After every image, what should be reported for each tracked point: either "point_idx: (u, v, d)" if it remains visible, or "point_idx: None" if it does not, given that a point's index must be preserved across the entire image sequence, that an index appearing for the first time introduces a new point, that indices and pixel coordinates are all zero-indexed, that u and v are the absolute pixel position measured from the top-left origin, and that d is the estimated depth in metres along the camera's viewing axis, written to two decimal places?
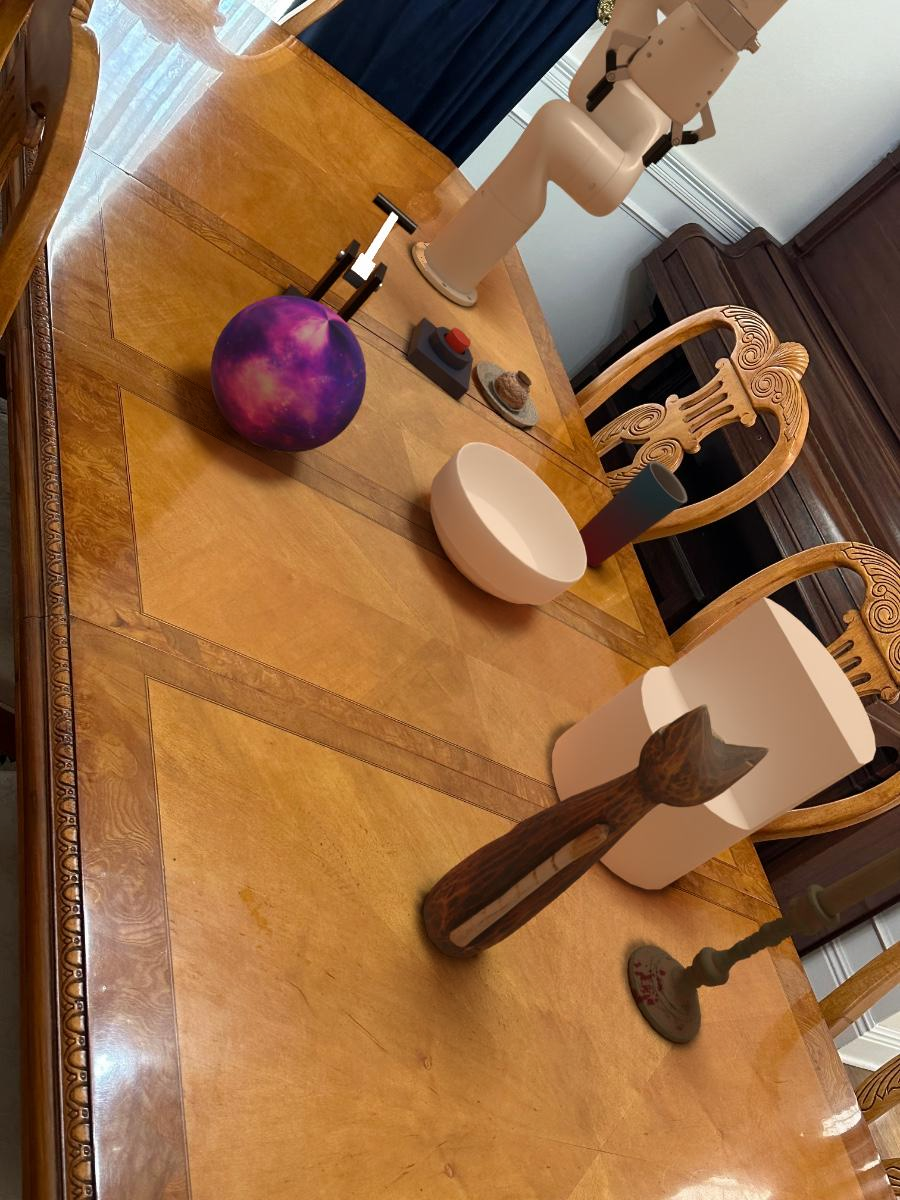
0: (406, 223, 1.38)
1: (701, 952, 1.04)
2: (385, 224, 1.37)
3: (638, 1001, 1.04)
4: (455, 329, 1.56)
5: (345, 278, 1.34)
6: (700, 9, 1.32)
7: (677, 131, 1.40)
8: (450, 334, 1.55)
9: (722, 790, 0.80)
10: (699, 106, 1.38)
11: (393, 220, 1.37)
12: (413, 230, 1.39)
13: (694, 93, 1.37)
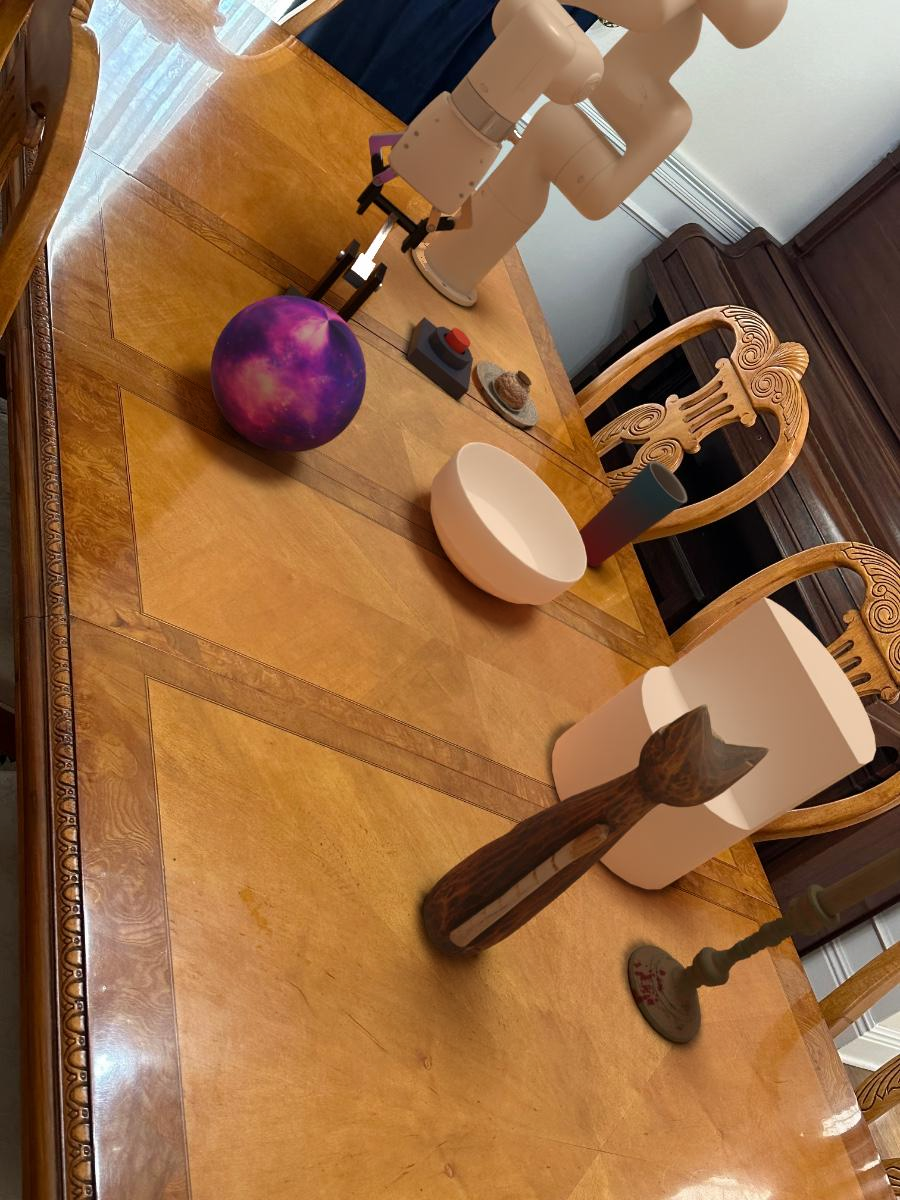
0: (406, 223, 1.38)
1: (701, 952, 1.04)
2: (385, 224, 1.37)
3: (638, 1001, 1.04)
4: (455, 329, 1.56)
5: (345, 278, 1.34)
6: (453, 101, 1.28)
7: (431, 218, 1.37)
8: (450, 334, 1.55)
9: (722, 790, 0.80)
10: (463, 197, 1.34)
11: (393, 220, 1.37)
12: (413, 230, 1.39)
13: (456, 184, 1.33)
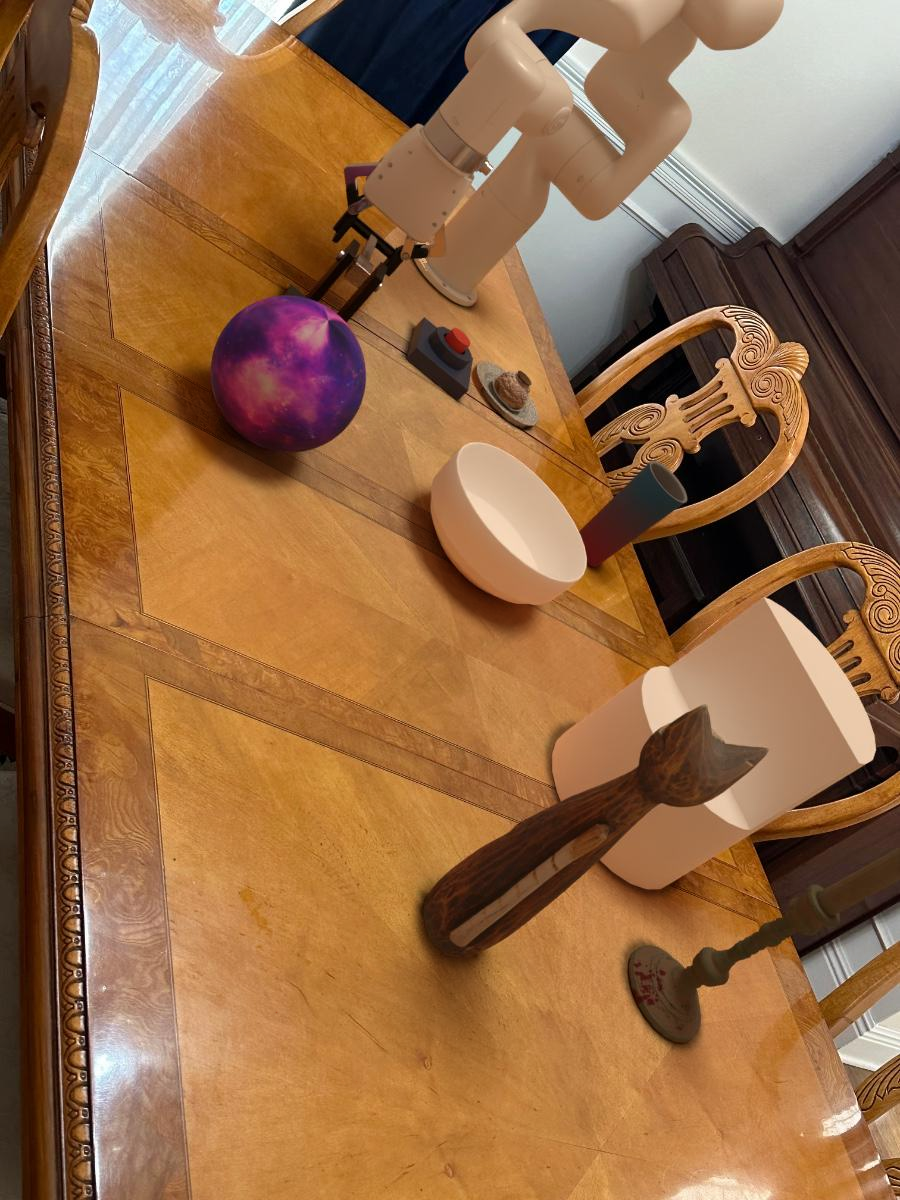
0: (385, 244, 1.41)
1: (701, 952, 1.04)
2: (369, 241, 1.39)
3: (638, 1001, 1.04)
4: (455, 329, 1.56)
5: (347, 277, 1.33)
6: (425, 134, 1.32)
7: (405, 246, 1.40)
8: (450, 334, 1.55)
9: (722, 790, 0.80)
10: (436, 226, 1.38)
11: (374, 240, 1.40)
12: (392, 251, 1.42)
13: (429, 214, 1.37)
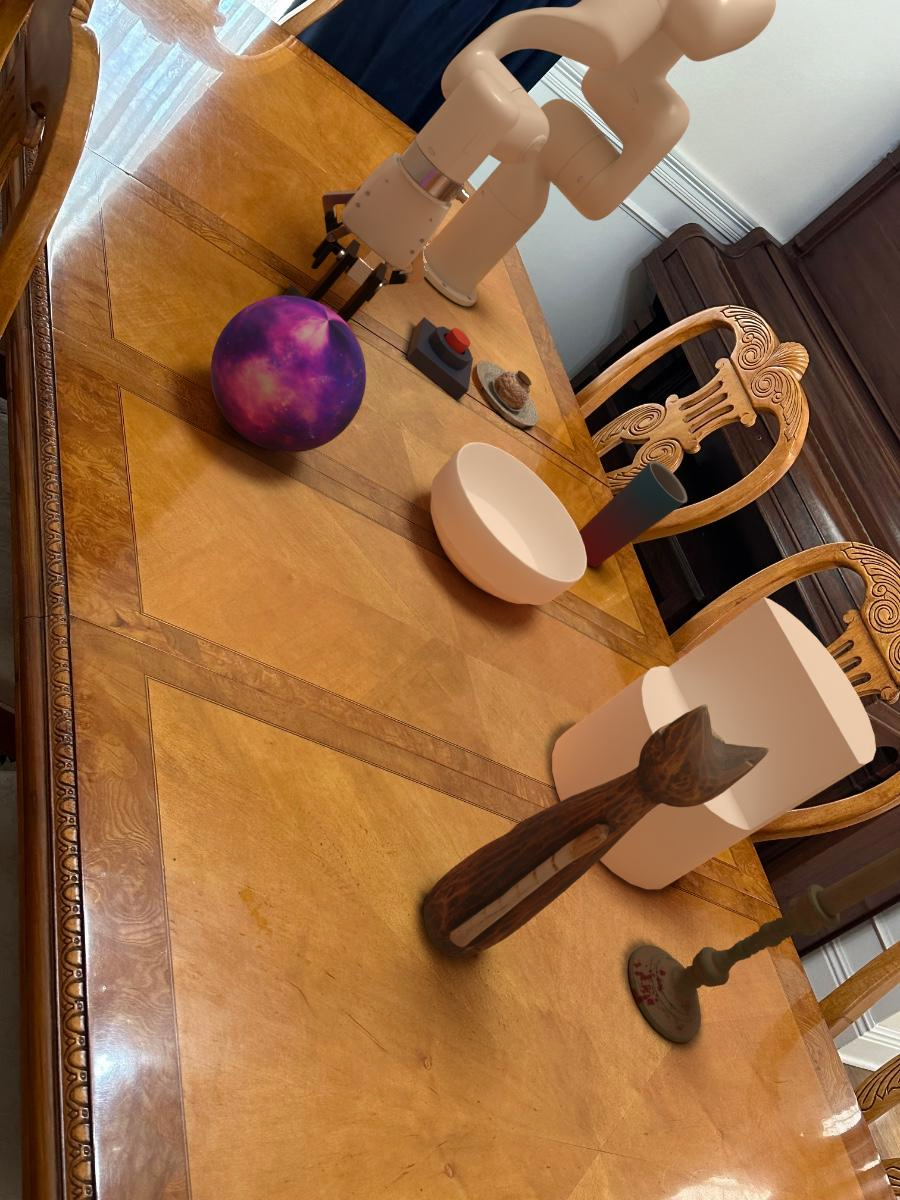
0: None
1: (701, 952, 1.04)
2: None
3: (638, 1001, 1.04)
4: (455, 329, 1.56)
5: (350, 274, 1.32)
6: (402, 163, 1.33)
7: None
8: (450, 334, 1.55)
9: (722, 790, 0.80)
10: (414, 253, 1.39)
11: None
12: None
13: (407, 241, 1.38)
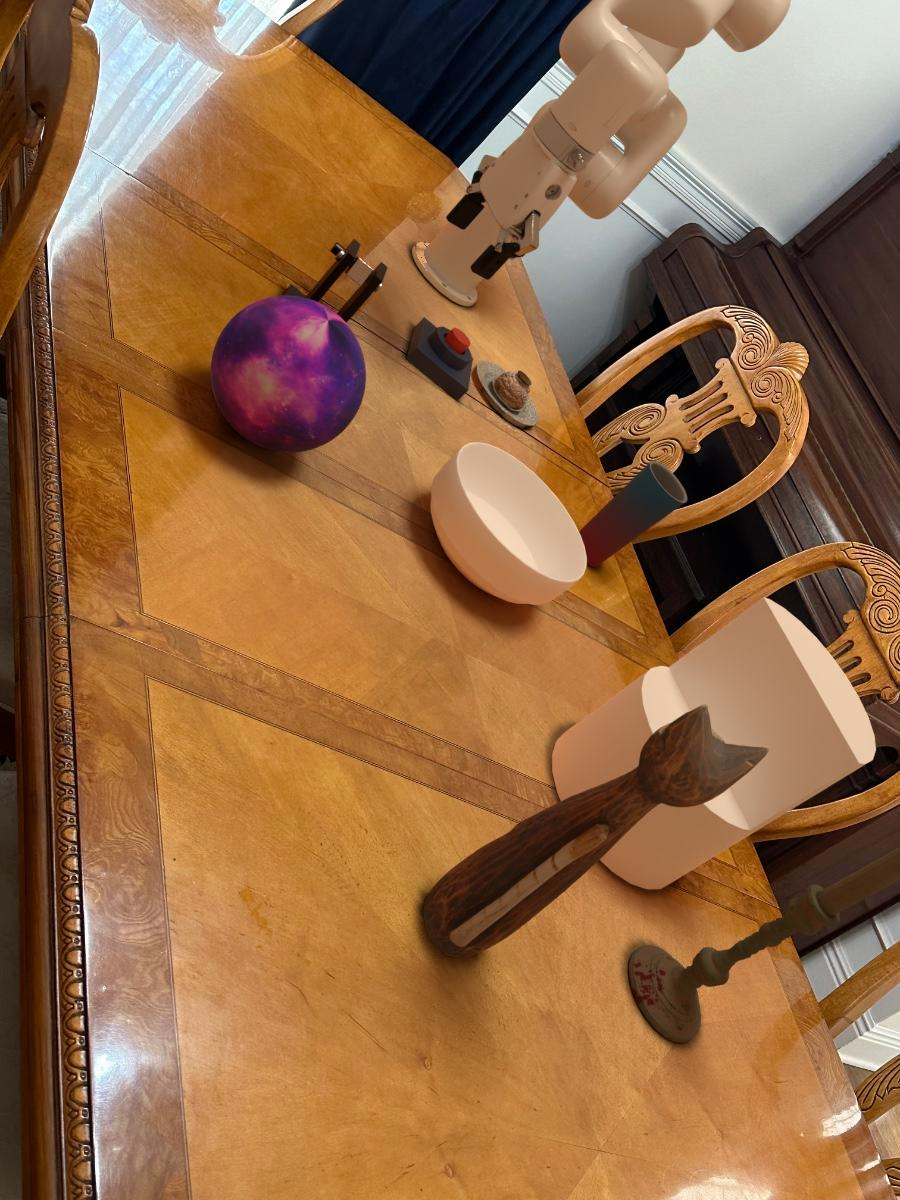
0: None
1: (701, 952, 1.04)
2: None
3: (638, 1001, 1.04)
4: (455, 329, 1.56)
5: (350, 274, 1.32)
6: None
7: (501, 236, 1.39)
8: (450, 334, 1.55)
9: (722, 790, 0.80)
10: (517, 209, 1.37)
11: None
12: None
13: (515, 196, 1.37)
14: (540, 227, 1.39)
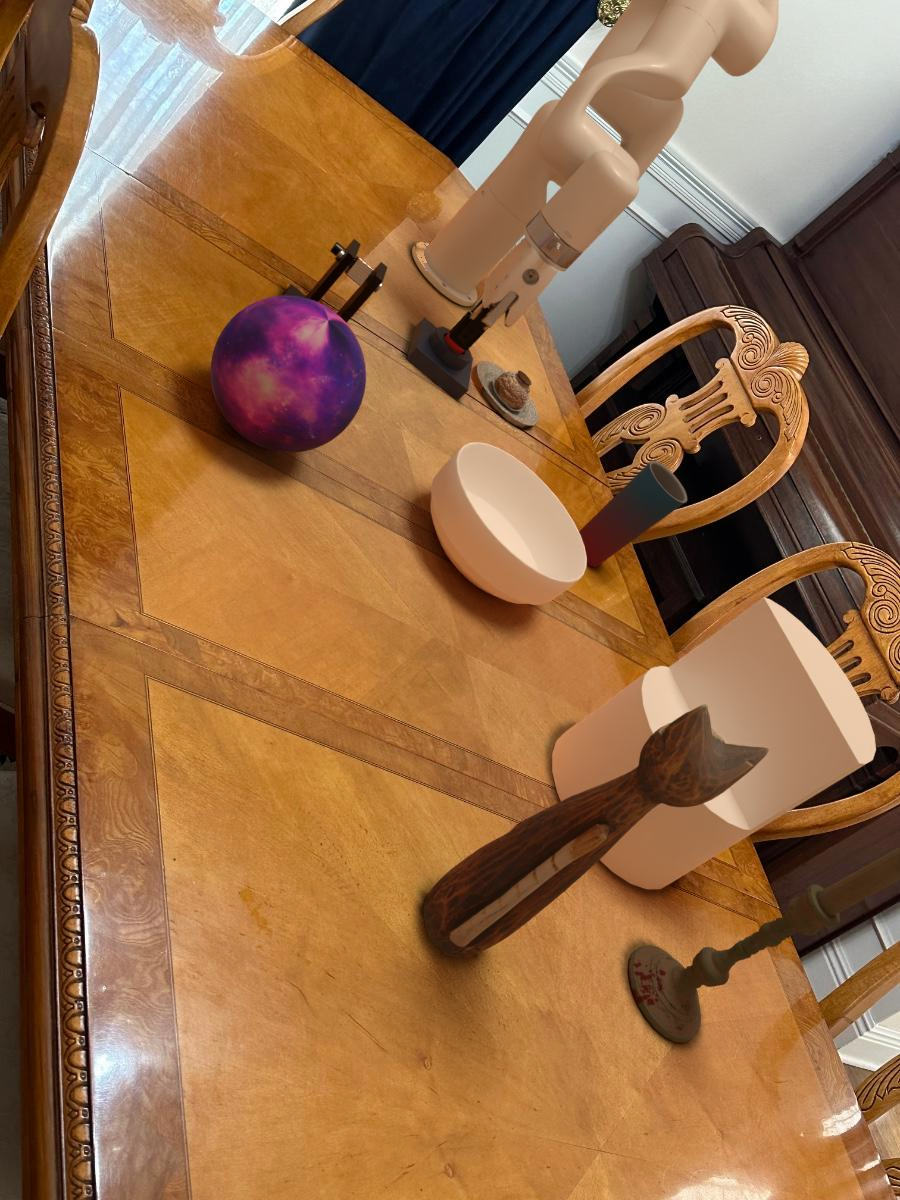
0: None
1: (701, 952, 1.04)
2: None
3: (638, 1001, 1.04)
4: None
5: (350, 274, 1.32)
6: None
7: None
8: (446, 338, 1.55)
9: (722, 790, 0.80)
10: (496, 288, 1.47)
11: None
12: None
13: (499, 279, 1.48)
14: (519, 312, 1.48)
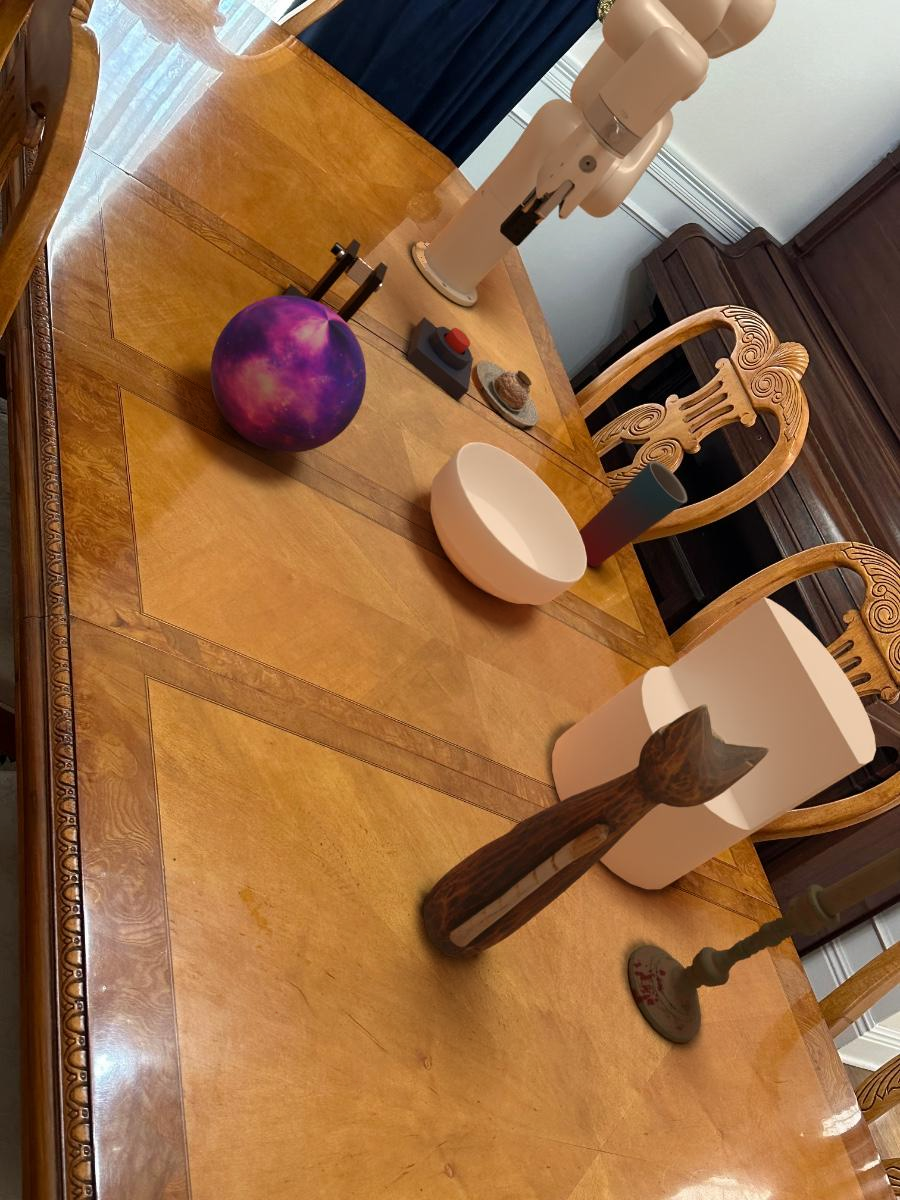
0: None
1: (701, 952, 1.04)
2: None
3: (638, 1001, 1.04)
4: (455, 329, 1.56)
5: (350, 274, 1.32)
6: None
7: (529, 199, 1.47)
8: (450, 334, 1.55)
9: (722, 790, 0.80)
10: (552, 177, 1.41)
11: None
12: None
13: (554, 167, 1.41)
14: (575, 202, 1.42)
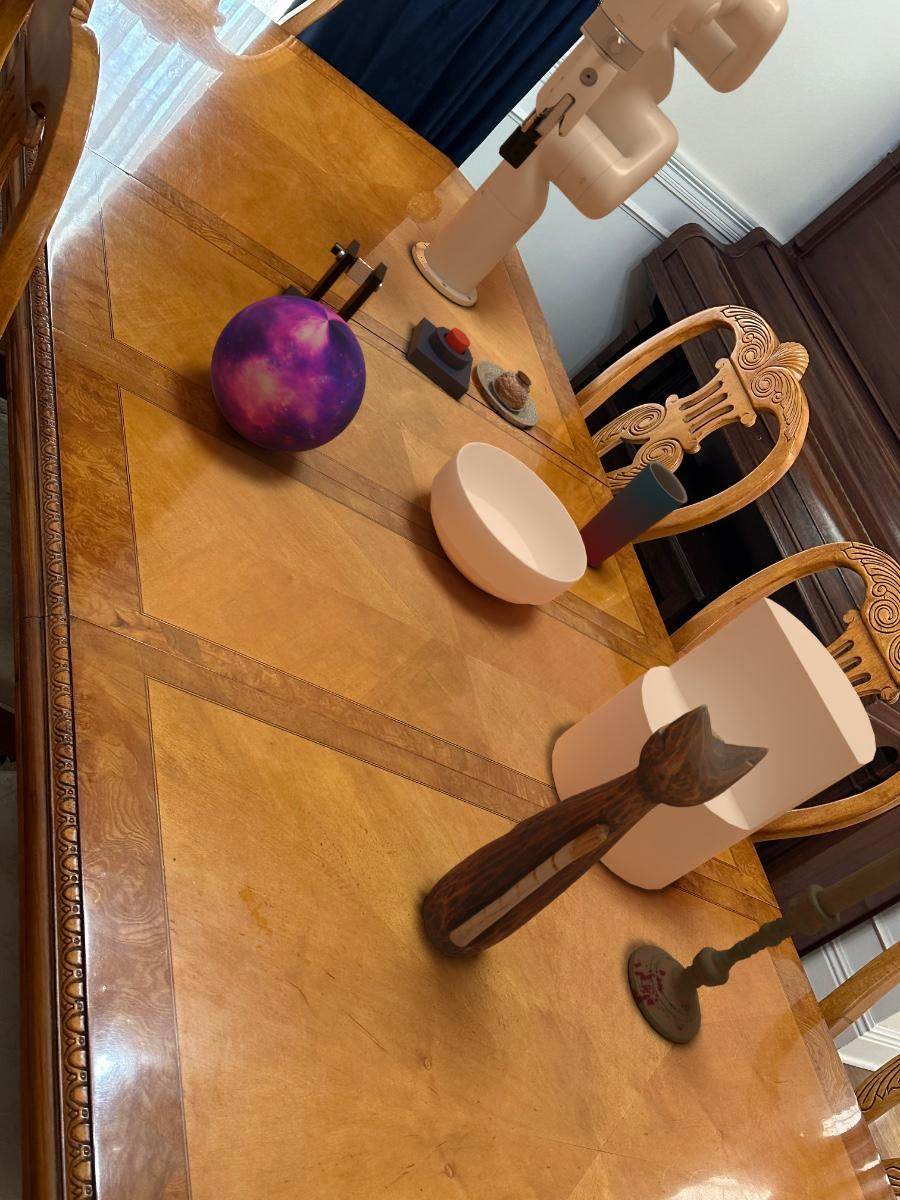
0: None
1: (701, 952, 1.04)
2: None
3: (638, 1001, 1.04)
4: (455, 329, 1.56)
5: (350, 274, 1.32)
6: None
7: (528, 119, 1.44)
8: (450, 334, 1.55)
9: (722, 790, 0.80)
10: (552, 91, 1.38)
11: None
12: None
13: (554, 82, 1.39)
14: (575, 117, 1.39)
